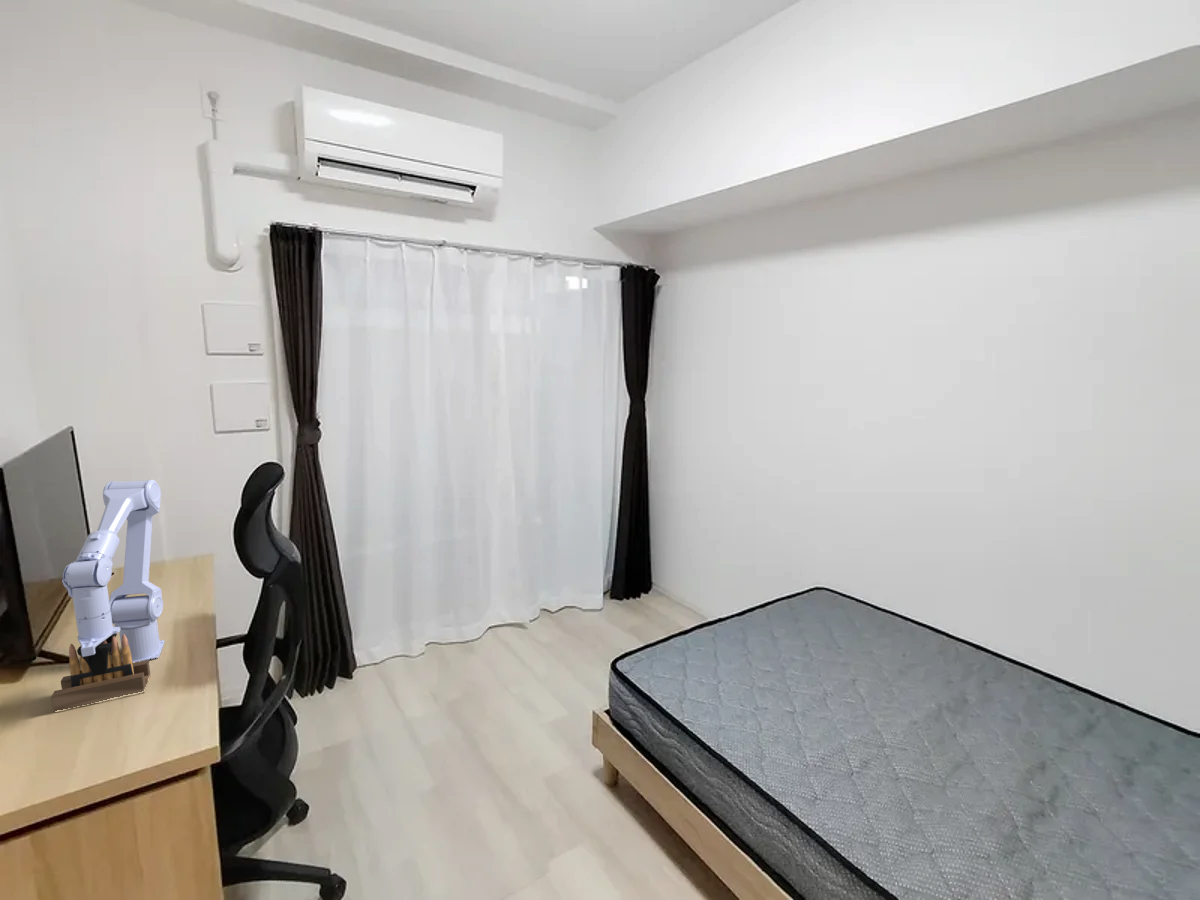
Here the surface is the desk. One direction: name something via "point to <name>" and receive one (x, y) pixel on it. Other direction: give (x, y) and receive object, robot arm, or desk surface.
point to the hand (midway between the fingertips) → (101, 670)
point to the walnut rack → (101, 688)
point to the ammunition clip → (115, 665)
